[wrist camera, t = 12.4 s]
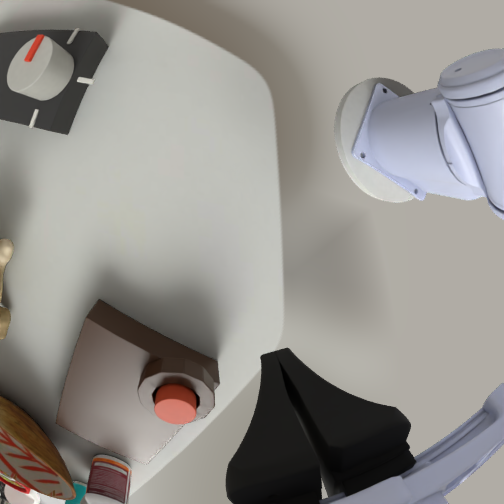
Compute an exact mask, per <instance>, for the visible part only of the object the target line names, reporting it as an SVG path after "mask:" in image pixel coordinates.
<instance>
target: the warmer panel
mask: <svg viewBox="0 0 504 504" xmlns="http://www.w3.org/2000/svg"><path fill="white" fill-rule="evenodd" d="M79 30H80V29H78V28H76V29H75V30H31V31H17V32H7V33H0V119H1V120H6V121H10V122H15V123H19V124H23V125H28V126H29V127H30V128H33V127H36V128H40V129H44V130H48V131H52V132H57V133H62V134H66V135H68V133H69V130H70V127H71V125H72V122H73V119H74V117H75V114H76V112H77V109H78V107H79V105H80V102H81V100H82V98H83V95H84V93H85V91H86V89H87V87H88V85H89V84H92V85H93V83H94V81H95V80H94V79H91V78H92V76H93V74H94V72H95V70H96V68H97V67H98V65H99V63H100V61H101V59H102V57H103V55H104V54H105V52H106V50H107V48H108V45H107V44H106V43H105V41H104V40H103V39H102V38H101V36H100V35H99V34H98V33H97V32H90V31H79ZM37 35H44V36H47V37H49V38H51V39H52V40H53V41H54V42H56V43H57V44H58V45H59V46H61V47H62V48H63V49H64V50H66V51H67V52H68V53H69V54H71V55H72V57H73V59H74V70H73V74H72V76H71V79H70V80H69V82H68V84H67V85H66V87H65V88H64V89H63V90H62V91H61V92H60V93H59V94H58V95H56V96H55V97H53V98H51V99H49V100H38V99H35V98H32V97H29V96H26V95H24V94H21V93H18V92H15V91H13V90H11V89H10V88H9V86H8V83H7V74H8V69H9V66H10V64H11V62H12V60H13V58H14V57H15V55H16V54H17V52H18V51H19V50H20V49H21V48H22V47H23V46H24V45H25V44H26V43H27V42H29V41H30V40H32V39H34V38H36V37H37Z"/></svg>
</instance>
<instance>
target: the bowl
mask: <svg viewBox="0 0 504 504" xmlns="http://www.w3.org/2000/svg"><path fill="white" fill-rule="evenodd" d="M0 470H1V471H2V472H4V473H5V474H6V475H8V476H9V477H11V478H13V479H14V480H16V481H17V482H19V483H21V484H23V485H24V486H26V487H28V488H30V489H32V490H34V491H37V492H39V493H41V494H44V495H47V496H50V497H53V498H57V499H63V500H72V499H74V498H76V492H75V489H74V485H73V482H72V479H71V476H70V474H69V471H68V469H67V467H66V465H65V463H64V461H63V459H62V457H61V456H60V454H59V452H58V450H57V449H56V447H55V446H54V445H53V443H52V442H51V441H50V440H49V438H48V437H47V436H46V434H45V433H44V432H43V431H42V429H41V428H40V427H39V425H38V424H37V423H36V422H35V421H34V420H33V419H32V418H31V417H30V416H29V415H28V414H27V413H26V412H25V411H23V410H22V409H21V408H20V407H18V406H17V405H16V404H14V403H13V402H11V401H10V400H8V399H6V398H4V397H2V396H0Z"/></svg>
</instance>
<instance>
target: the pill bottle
mask: <svg viewBox="0 0 504 504" xmlns="http://www.w3.org/2000/svg"><path fill="white" fill-rule="evenodd" d="M130 481H131V468H130V467H129V465H128V464H126V463H125V462H123V461H121V460H119V459H117V458H115V457H112V456H108V455H96V456H95V457H94V458H93V461H92V465H91V470H90V474H89V479H88V484H87V489H86V494H85V499H86V501H87V503H88V504H128V500H129V490H130Z"/></svg>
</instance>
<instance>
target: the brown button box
mask: <svg viewBox="0 0 504 504" xmlns="http://www.w3.org/2000/svg"><path fill="white" fill-rule="evenodd" d="M171 383H173V384H181V385H184V386H186V387H188V388H190V389H191V390H192V391H193V392H194V393H195V395H196V417H195V418H194V420H192V421H191V422H193V421H196V420H199V419H202V418H205V417H206V416H207V415H208V414H209V412H210V411H211V410H212V409H213V408H214V406H215V393H214V390H215V389H216V388H217V387H218V385H219V384H220V381H219V370H218V361H216V360H214V359H212V358H209V357H207V356H205V355H203V354H201V353H198V352H196V351H194V350H192V349H190V348H188V347H186V346H184V345H181V344H179V343H177V342H175V341H173V340H171V339H169V338H167V337H165V336H163V335H162V334H160V333H158V332H156V331H154V330H152V329H150V328H148V327H146V326H145V325H143V324H141V323H139V322H137V321H135V320H134V319H132V318H130V317H128V316H127V315H125V314H123V313H121V312H120V311H118V310H116V309H115V308H113V307H111V306H110V305H108V304H106V303H105V302H103V301H101V300H100V299H99V300H98V301H97V303H96V304H95V305H94V307H93V308H92V309H91V311H90V312H89V314H88V315H87V316H86V319H85V321H84V324H83V327H82V330H81V332H80V335H79V338H78V341H77V344H76V347H75V350H74V353H73V357H72V360H71V363H70V367H69V370H68V373H67V377H66V381H65V384H64V388H63V392H62V396H61V400H60V405H59V409H58V414H57V418H56V424H58V425H59V426H61V427H63V428H65V429H67V430H68V431H70V432H72V433H74V434H76V435H78V436H80V437H82V438H84V439H86V440H88V441H90V442H92V443H94V444H96V445H98V446H101V447H103V448H105V449H107V450H110V451H112V452H114V453H117V454H119V455H122V456H124V457H127V458H130V459H132V460H135V461H138V462H141V463H143V464H146V465H147V464H148V463H149V462H150V461H151V460H152V459H153V458H154V457H155V456H156V455H157V454H158V453H159V451H160V450H161V449H162V448H163V447H164V446H165V445H166V444H167V443H168V442H169V441H170V440H171V439H172V438H173V437H174V435H175V434H176V433H177V432H178V431H179V430H180V429H181V428H182V427H183V426H184V424H171V423H168V422H165V421H163V420H162V419H160V418H159V417H158V416H157V415H156V413H155V411H154V406H155V399H156V393H157V390H158V389H159V388H160V387H161V386H163V385H166V384H171Z"/></svg>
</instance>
